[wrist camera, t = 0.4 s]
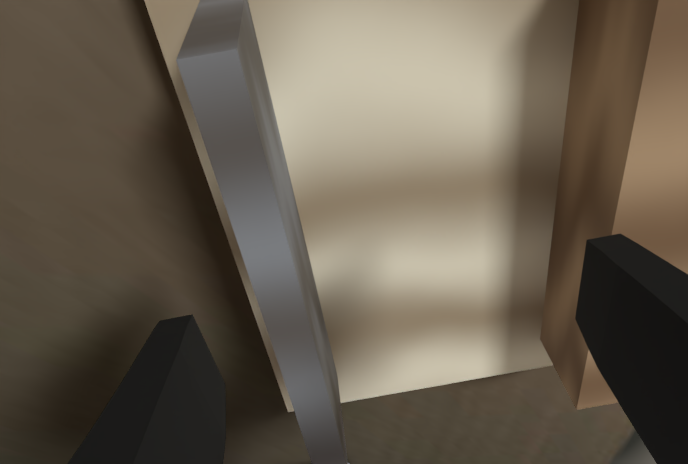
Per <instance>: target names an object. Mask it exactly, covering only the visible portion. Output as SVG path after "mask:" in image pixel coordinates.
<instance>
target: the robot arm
mask: <svg viewBox="0 0 688 464" xmlns="http://www.w3.org/2000/svg"><path fill="white" fill-rule="evenodd" d="M575 320H576V322H577V324H578V326H579V329H580V331H581V333H582V335H583V338H584V340H585V342H586V345H587V347H588V349H589V351H590V353H591V355H592V357H593V359H594V361H595V364H596V366H597V368H598V369H599V371H600V373H601V374H602V376H603V378H604V379H605V381H606V383H607V384H608V386H609V388H610V389H611V391H612V393H613V394H614V396H615V397H616V399H617V401H618V402H619V404H620V406H621V407H622V409H623V410H624V412H625V414H626V415H627V417H628V418H629V420H630V421H631V423H632V425H633V426H634V428H635V429H636V431H637V433H638V434H639V436H640V437H641V439H642V440H643V442H644V444H645V445H646V447H647V449H648V450H649V452H650V453H651V455H652V457H653V458H654V460H655V461H656V463H657V464H688V274H686V273H685V272H683V271H682V270H680V269H678V268H677V267H675V266H673V265H672V264H670V263H669V262H667V261H665V260H664V259H662V258H661V257H659V256H657V255H656V254H654V253H652V252H651V251H649V250H648V249H646V248H644V247H643V246H641V245H639V244H638V243H636V242H634V241H633V240H631V239H629V238H627V237H626V236H624V235H622V234H621V233H620V234H615V235H609V236H604V237H599V238H594V239H588V240H587V241H586V247H585V254H584V261H583V268H582V275H581V282H580V288H579V295H578V302H577V309H576V316H575ZM225 440H226V397H225V383H224V381H223V378H222V376H221V374H220V372H219V370H218V368H217V366H216V364H215V361H214V359H213V357H212V355H211V353H210V351H209V349H208V347H207V344H206V342H205V340H204V338H203V336H202V334H201V332H200V330H199V327H198V325H197V323H196V321H195V319H194V317H193V315H188V316H182V317H177V318H172V319H166V320H161V321H159V322H158V324H157V325H156V327H155V328H154V330H153V331H152V333H151V335H150V336H149V338H148V339H147V341H146V343H145V344H144V346H143V348H142V349H141V351H140V353H139V354H138V356H137V358H136V359H135V361H134V363H133V364H132V366H131V367H130V369H129V371H128V372H127V374H126V376H125V377H124V379H123V380H122V382H121V384H120V385H119V387H118V389H117V390H116V392H115V393H114V395H113V396H112V398H111V400H110V401H109V403H108V404H107V406H106V407H105V409H104V410H103V412H102V413H101V415H100V417H99V418H98V420H97V421H96V423H95V424H94V426H93V427H92V429H91V430H90V432H89V433H88V435H87V436H86V438H85V439H84V441H83V442H82V444H81V445H80V447H79V448H78V449H77V451H76V452H75V454H74V455H73V457H72V458H71V459H70V461H69V462H68V464H223V460H224V450H225ZM348 464H349V463H348Z"/></svg>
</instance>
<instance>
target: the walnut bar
mask: <svg viewBox="0 0 688 464" xmlns="http://www.w3.org/2000/svg"><path fill="white" fill-rule="evenodd" d="M620 233H621V234H622V235H624V236H626V237H627V238H629V239H631V240H633V241H634V242H636V243H638V244H639V245H641V246H643V247H644V248H646V249H648V250H649V251H651V252H652V253H654V254H656V255H657V256H659V257H661V258H662V259H664V260H665V261H667V262H669V263H670V264H672V265H673V266H675V267H677V268H678V269H680V270H682V271H683V272H685V273H686V274H688V0H579V6H578V15H577V23H576V32H575V41H574V49H573V58H572V67H571V75H570V84H569V93H568V101H567V110H566V119H565V127H564V136H563V145H562V153H561V162H560V171H559V179H558V188H557V197H556V205H555V214H554V223H553V231H552V240H551V249H550V257H549V266H548V275H547V283H546V292H545V301H544V309H543V318H542V327H541V335H540V340H541V342H542V344H543V346H544V348H545V350H546V352H547V354H548V356H549V358H550V359H551V361H552V363H553V365H554V367H555V369H556V371H557V373H558V375H559V377H560V379H561V381H562V383H563V385H564V387H565V388H566V390H567V392H568V394H569V396H570V398H571V400H572V402H573V404H574V406H575V408H576V410H578V409H584V408H589V407H595V406H601V405H606V404H612V403H618V401H617V399H616V397H615V396H614V394H613V393H612V391H611V389H610V388H609V386H608V384H607V383H606V381H605V379H604V378H603V376H602V374H601V373H600V371H599V369H598V368H597V366H596V364H595V361H594V359H593V357H592V355H591V353H590V351H589V349H588V347H587V345H586V342H585V340H584V338H583V335H582V333H581V331H580V329H579V326H578V324H577V322H576V320H575V316H576V309H577V302H578V295H579V288H580V282H581V275H582V268H583V261H584V254H585V247H586V241H587V240H588V239H594V238H599V237H604V236H609V235H615V234H620Z"/></svg>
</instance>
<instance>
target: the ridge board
mask: <svg viewBox="0 0 688 464" xmlns="http://www.w3.org/2000/svg"><path fill="white" fill-rule="evenodd" d="M144 1H145V4H146V7H147V10H148V13H149V16H150V19H151V21H152V24H153V27H154V30H155V33H156V36H157V39H158V41H159V44H160V47H161V50H162V53H163V56H164V59H165V61H166V64H167V67H168V70H169V73H170V76H171V79H172V81H173V84H174V87H175V90H176V93H177V96H178V99H179V102H180V104H181V107H182V110H183V113H184V116H185V119H186V122H187V124H188V127H189V130H190V133H191V136H192V139H193V142H194V144H195V147H196V150H197V153H198V156H199V159H200V162H201V164H202V167H203V170H204V173H205V176H206V179H207V182H208V184H209V187H210V190H211V193H212V196H213V199H214V202H215V204H216V207H217V210H218V213H219V216H220V219H221V222H222V224H223V227H224V230H225V233H226V236H227V239H228V242H229V244H230V247H231V250H232V253H233V256H234V259H235V262H236V265H237V267H238V270H239V273H240V276H241V279H242V282H243V285H244V287H245V290H246V293H247V296H248V299H249V302H250V305H251V307H252V310H253V313H254V316H255V319H256V322H257V325H258V327H259V330H260V333H261V336H262V339H263V342H264V345H265V347H266V350H267V353H268V356H269V359H270V362H271V365H272V367H273V370H274V373H275V376H276V379H277V382H278V385H279V387H280V390H281V393H282V396H283V399H284V402H285V405H286V407H287V410H288V412H293V411H295V414H296V417H297V420H298V423H299V426H300V429H301V432H302V435H303V438H304V441H305V444H306V447H307V450H308V453H309V456H310V459H311V462H312V464H348V462H347V453H346V445H345V436H344V428H343V419H342V411H341V403H343V402H349V401H355V400H360V399H366V398H371V397H377V396H383V395H388V394H394V393H400V392H405V391H411V390H416V389H422V388H428V387H433V386H439V385H445V384H450V383H456V382H461V381H467V380H473V379H478V378H484V377H490V376H495V375H501V374H506V373H512V372H518V371H523V370H529V369H535V368H540V367H546V366H551V365H553V363H552V361H551V359H550V358H549V356H548V354H547V352H546V350H545V348H544V346H543V344H542V342H541V340H540V335H541V327H542V318H543V309H544V301H545V292H546V283H547V275H548V266H549V257H550V249H551V240H552V231H553V223H554V214H555V205H556V197H557V188H558V179H559V171H560V162H561V153H562V145H563V136H564V127H565V119H566V110H567V101H568V93H569V84H570V75H571V67H572V58H573V49H574V41H575V32H576V23H577V15H578V6H579V0H144Z"/></svg>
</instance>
